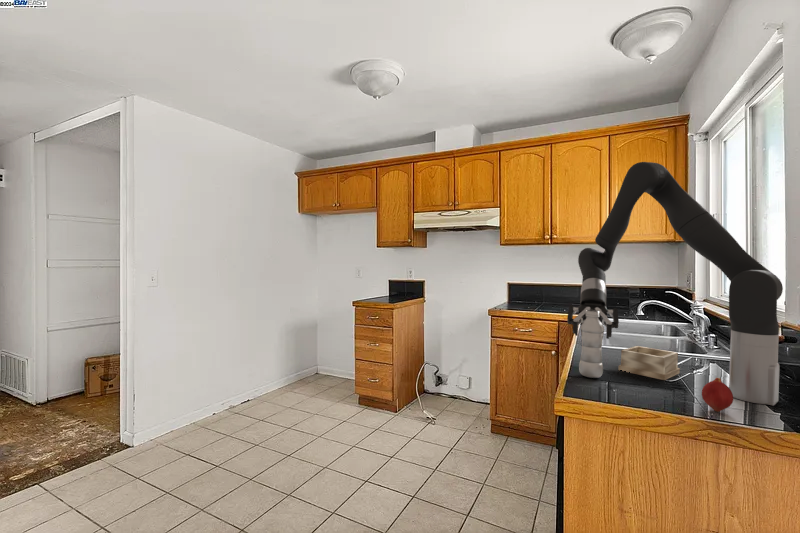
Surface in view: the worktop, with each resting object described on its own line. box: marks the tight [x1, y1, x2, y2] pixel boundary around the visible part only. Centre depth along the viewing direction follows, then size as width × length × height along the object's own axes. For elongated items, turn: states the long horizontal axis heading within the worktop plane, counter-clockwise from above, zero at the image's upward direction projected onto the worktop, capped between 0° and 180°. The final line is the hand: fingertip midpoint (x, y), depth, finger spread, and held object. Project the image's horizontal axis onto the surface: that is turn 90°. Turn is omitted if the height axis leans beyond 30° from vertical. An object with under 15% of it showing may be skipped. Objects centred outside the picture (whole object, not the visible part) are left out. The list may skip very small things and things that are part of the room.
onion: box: [701, 377, 734, 412], centre depth 93 cm, size 6×6×8 cm
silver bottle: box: [578, 310, 605, 379], centre depth 119 cm, size 6×7×20 cm
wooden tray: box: [618, 345, 681, 381], centre depth 126 cm, size 13×13×6 cm
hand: (591, 335), depth 120 cm, fingers open, 8 cm apart
